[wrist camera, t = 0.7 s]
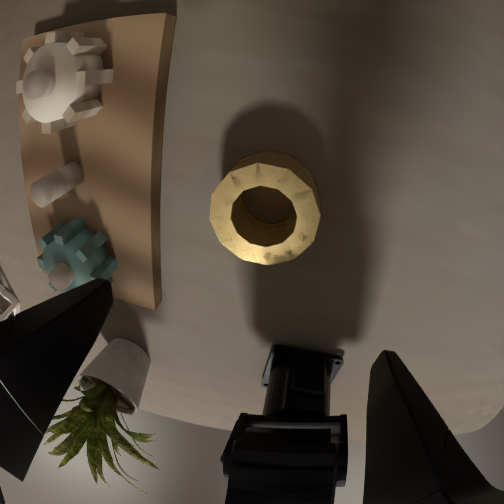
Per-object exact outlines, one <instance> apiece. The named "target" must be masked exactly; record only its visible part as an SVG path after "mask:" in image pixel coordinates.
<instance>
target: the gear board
mask: <svg viewBox="0 0 504 504" xmlns="http://www.w3.org/2000/svg"><path fill="white" fill-rule="evenodd" d="M175 23H176V16H173V15H171V14H168V13H154V14H142V15H132V16H124V17H116V18H110V19H103V20H97V21H92V22H87V23H82V24H77V25H73V26H68V27H64V28H60V29H56V30H52V31H49V32H45V33H42V34H38V35H35V36H32V37H28V38H25V39H23V42H22V52H21V65H20V81H17V82H16V94H19V120H20V141H21V154H22V164H23V173H24V181H25V188H26V195H27V201H28V207H29V212H30V218H31V223H32V228H33V232H34V237H35V241H36V246H37V250H38V254H39V257H38V258H37V260H38V264H39V267H40V268H42V269H43V273H45V274H48V276H49V280H50V283H49V285H50V286H51V287H52V288H53V289H54V291H56V290H59V291H62V292H63V293H64V292H66V291H69V290H71V289H73V288H75V287H78V286H80V285H82V284H85V283H87V282H89V281H91V280H94V279H96V278H99V277H101V278H104V279H107V280H109V281H110V282H111V285H112V292H113V298H116V299H119V300H122V301H125V302H128V303H131V304H135V305H138V306H141V307H144V308H148V309H151V310H154V311H155V310H156V308H157V307H158V305H159V303H160V302H161V300H162V294H161V268H160V185H161V159H162V141H163V126H164V113H165V102H166V92H167V82H168V73H169V65H170V57H171V50H172V43H173V36H174V29H175Z"/></svg>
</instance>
